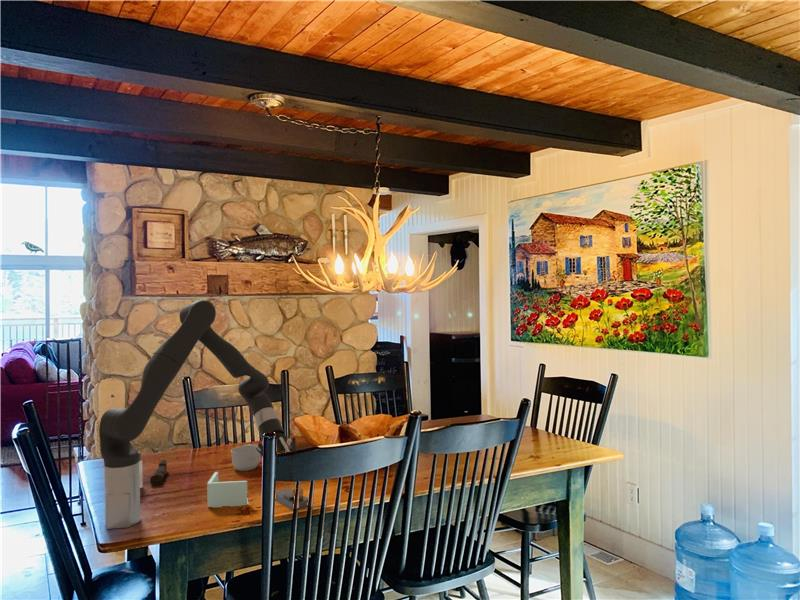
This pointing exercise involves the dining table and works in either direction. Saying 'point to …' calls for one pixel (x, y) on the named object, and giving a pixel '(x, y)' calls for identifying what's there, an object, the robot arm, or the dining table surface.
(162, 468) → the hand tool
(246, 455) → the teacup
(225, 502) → the right angle wall
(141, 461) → the jar
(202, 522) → the dining table surface
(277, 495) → the body
